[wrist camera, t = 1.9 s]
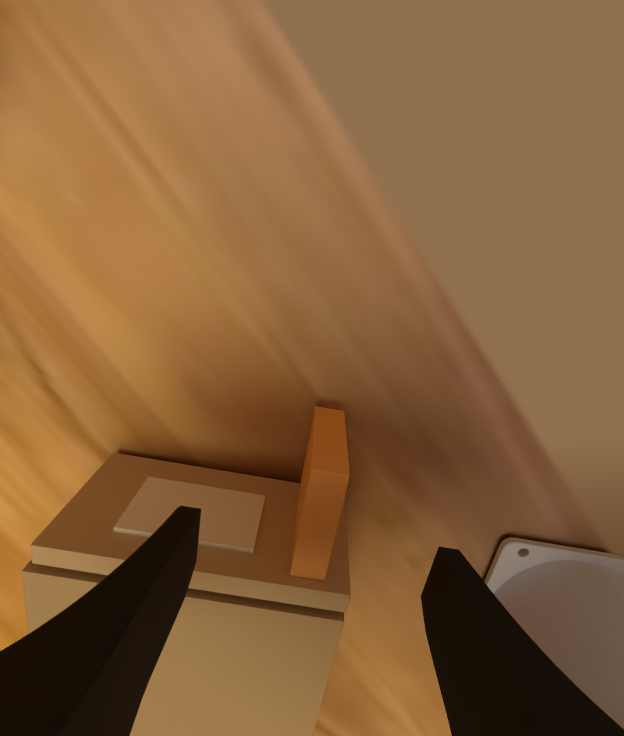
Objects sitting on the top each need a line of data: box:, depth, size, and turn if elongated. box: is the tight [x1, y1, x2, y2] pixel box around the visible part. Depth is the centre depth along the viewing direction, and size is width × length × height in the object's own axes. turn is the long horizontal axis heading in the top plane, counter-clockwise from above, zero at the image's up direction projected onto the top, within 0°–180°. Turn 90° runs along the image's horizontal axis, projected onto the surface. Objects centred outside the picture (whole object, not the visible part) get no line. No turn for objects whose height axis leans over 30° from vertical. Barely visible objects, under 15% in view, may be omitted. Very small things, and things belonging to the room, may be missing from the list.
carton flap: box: [30, 406, 350, 613], centre depth 16 cm, size 11×5×6 cm, turn 80°
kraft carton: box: [22, 560, 344, 736], centre depth 19 cm, size 11×16×6 cm
